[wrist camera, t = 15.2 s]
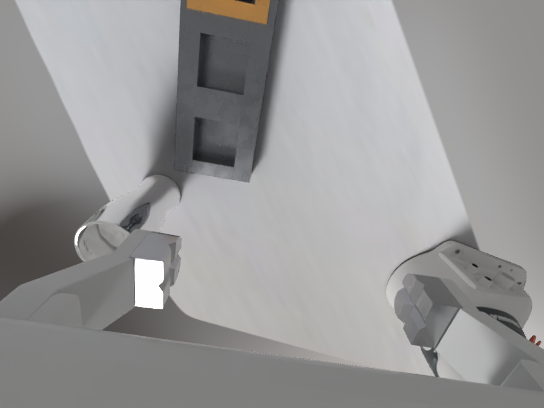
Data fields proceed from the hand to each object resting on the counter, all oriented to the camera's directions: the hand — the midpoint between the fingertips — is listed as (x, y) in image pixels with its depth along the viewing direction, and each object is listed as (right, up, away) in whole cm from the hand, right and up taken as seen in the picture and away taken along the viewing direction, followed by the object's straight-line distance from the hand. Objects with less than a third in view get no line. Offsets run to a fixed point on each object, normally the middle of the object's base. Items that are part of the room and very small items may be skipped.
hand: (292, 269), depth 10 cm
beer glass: (-18, +4, +33) cm, 38 cm away
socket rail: (-6, +20, +25) cm, 33 cm away
